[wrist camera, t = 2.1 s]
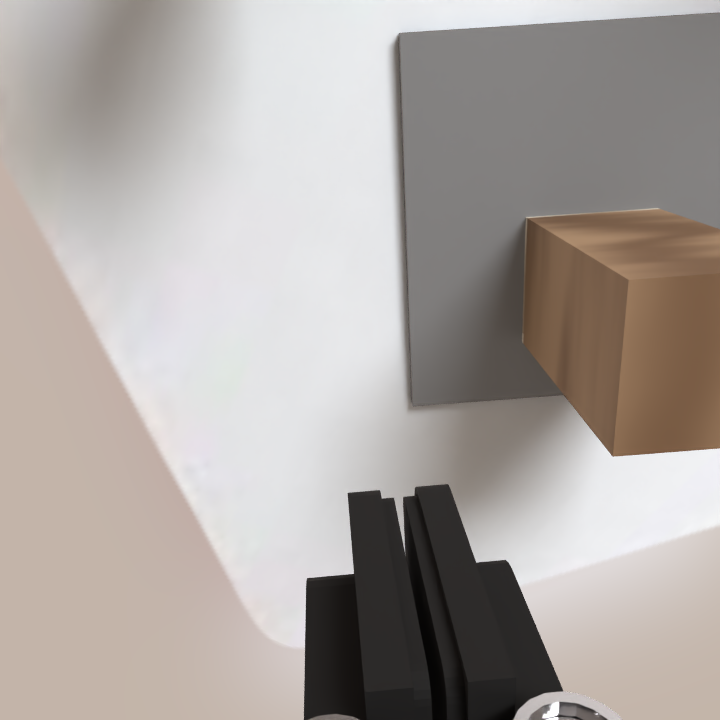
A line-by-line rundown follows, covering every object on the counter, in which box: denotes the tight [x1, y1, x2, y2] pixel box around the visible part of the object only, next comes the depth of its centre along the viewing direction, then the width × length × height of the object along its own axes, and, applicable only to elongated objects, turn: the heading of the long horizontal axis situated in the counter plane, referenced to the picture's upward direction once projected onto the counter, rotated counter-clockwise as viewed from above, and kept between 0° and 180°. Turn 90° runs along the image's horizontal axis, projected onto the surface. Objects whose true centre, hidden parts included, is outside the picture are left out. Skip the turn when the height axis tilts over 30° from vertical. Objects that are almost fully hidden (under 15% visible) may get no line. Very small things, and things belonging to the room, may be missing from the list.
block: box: [522, 208, 720, 456], centre depth 22 cm, size 5×5×9 cm
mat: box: [399, 13, 720, 406], centre depth 26 cm, size 20×14×1 cm
